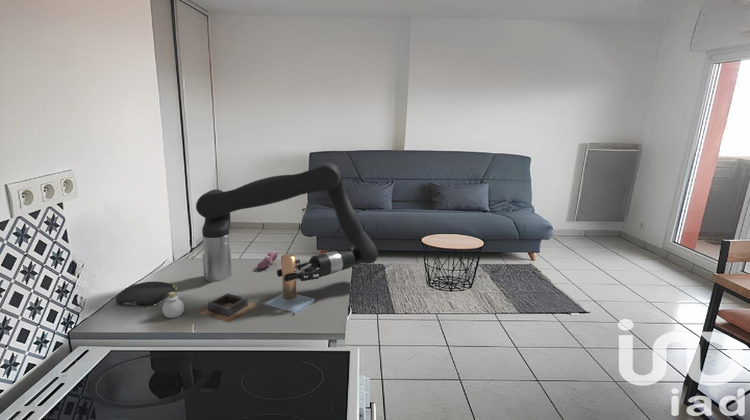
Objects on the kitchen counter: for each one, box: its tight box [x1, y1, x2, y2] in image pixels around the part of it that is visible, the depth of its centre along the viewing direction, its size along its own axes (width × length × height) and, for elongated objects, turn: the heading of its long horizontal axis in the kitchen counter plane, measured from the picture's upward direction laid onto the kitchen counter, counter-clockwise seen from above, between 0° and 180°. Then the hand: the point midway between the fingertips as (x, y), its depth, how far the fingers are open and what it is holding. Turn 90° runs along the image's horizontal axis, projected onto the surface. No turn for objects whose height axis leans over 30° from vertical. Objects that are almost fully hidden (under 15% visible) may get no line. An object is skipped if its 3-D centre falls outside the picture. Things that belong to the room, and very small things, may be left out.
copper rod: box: [280, 253, 298, 300], centre depth 140 cm, size 4×4×14 cm
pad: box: [264, 292, 315, 316], centre depth 142 cm, size 12×11×1 cm
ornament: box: [162, 285, 185, 319], centre depth 132 cm, size 6×7×10 cm
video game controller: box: [256, 250, 279, 270], centre depth 175 cm, size 10×5×7 cm, turn 170°
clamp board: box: [196, 292, 260, 323], centre depth 137 cm, size 14×13×4 cm
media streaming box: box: [115, 281, 175, 307], centre depth 146 cm, size 15×15×3 cm
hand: (281, 275), depth 138 cm, fingers closed on copper rod, 4 cm apart
